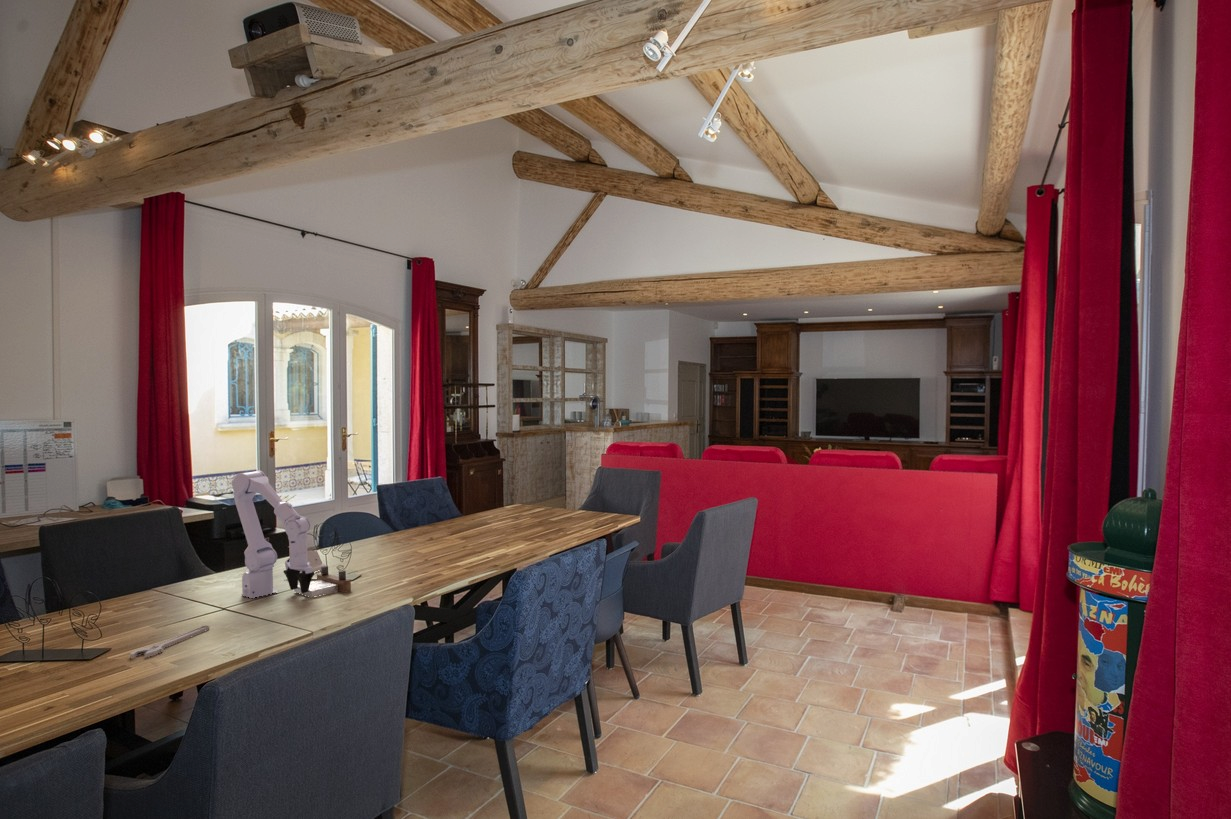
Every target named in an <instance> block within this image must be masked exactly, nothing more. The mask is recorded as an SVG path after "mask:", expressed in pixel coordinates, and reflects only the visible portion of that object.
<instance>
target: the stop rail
mask: <svg viewBox="0 0 1231 819" xmlns="http://www.w3.org/2000/svg"><path fill="white" fill-rule="evenodd" d="M320 572H321V573H316V581H318V580H323V581H326V582H330V583H333V584H337V585H338V592H339V591H341V592H340V593H342V592H344V593H347V592H346V591H348V592H351V591H352V584H351V583H352V582H351V581H352V580H351V579H349V578H347V575H346V574H347V570H338V575H335V574H334V575H333V574H330V573H329V565H325V566H322V567H321V571H320Z"/></svg>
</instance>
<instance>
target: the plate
mask: <svg viewBox="0 0 1231 819" xmlns="http://www.w3.org/2000/svg"><path fill="white" fill-rule="evenodd" d="M293 590H294V592H296V593H300V594H303V595H306V596H309V597H314V596H319V595H323V594H327V595H330V594H329V593H331V594H334V593H333V592H335V593H338V592H339V591H338V585H337V584H333V583H330V582H326V581H323V580H318V581H317V580H313V581H311V582H310V586H309V590H308V592H306V593H301V589H300V584H298V587H297V589H293ZM337 591H338V592H337ZM296 593H295V594H296ZM300 594H299V595H300ZM303 595H302V596H303ZM306 596H305V597H306ZM323 596H324V595H323ZM309 597H308V598H309ZM319 597H320V596H319Z"/></svg>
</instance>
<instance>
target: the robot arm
mask: <svg viewBox="0 0 1231 819" xmlns="http://www.w3.org/2000/svg"><path fill="white" fill-rule="evenodd" d="M269 481H270V480H269V477H268V476H267V475H266V474H265V473H264V471H262V470H255V471H250V472H249V471H248V472H239V473H236V475H235V476H234V477H233V480H232V481H231V486H232V489H233V499H234V503H235V506H236V509H237V513H238V516H239V520H240V523H241V525H242V526H241V527H242V529H243V533H244V535H245V540H246V542H247V545H248V546H247V547H246V549H245V550H244V552H243V554H244V565H245V567H246V569H247V570H248V571H247V572H244V573H243V574H242V575H241V576H242V578H241V584H242V586H241V588H242V590H241V591H242V593H241V596H242V595H243V597H245V596H246V598H248V597H249V598H248V599H251V598H253V599H256V598H255V597H257V598H260V597H259V596H262V597H264V596H263V595H266V596H269V595H268V594H270V595H273V594H272V593H275V594H277V593H276V592H278V593H279V590H274V575H273V574H274V572H273V569H274V566H275V565H274V564H276V563H277V560H278V553H277V551H276V550H275V549H274V548H273V545H272V543H270V542H269V541H268V540H266V539H265V536H264V533H263V529H262V527H261V523H260V519H259V517H258V513H257V510H256V507H255V504H254V501H253V498H254V497H255V495H256V494H259V495H260V496H261V497H262V498H264V500H266V501H267V502H268V503H269V504H270V505H271V506H272V507H273V508H274V509H273V514H274V515H275V516H276V517H277V518H278V519H279V521H280V522H281V523H282V524H283V526H285V527H284V531H285V534H286V535H287V539H288V543H289V544H288V545H289V546H288V548H289V558H290V562H287V563H286V566H285V570H283V573H284V575H285V577H286V579H287V581H288V584H289V588H290V590H291V591H293V590H294V589H297V587H298V585H300V589H301V593H306V592H308V590H309V586H310V582H312V579H313V577H314V575H315V574H314V572H312V567H310V566H309V565H311V563H309V562H307V551H308V532H309V531H310V530H311V522H310V520H309V519H308V518H307V517H305V516H302V515H300V514H299V513H298V512H297V511H296V510H295V509H294V507H293V505H292V504H291V503H289V502H288V501H287V502H286V501H283V500H282V498H281V497H280V496H279V495H278V493H277V492H276V491H275V489H274V488H273V486H272V485H271V483H269ZM286 568H288V569H287V570H286ZM300 571H302V573H300Z"/></svg>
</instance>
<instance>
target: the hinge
mask: <svg viewBox="0 0 1231 819" xmlns="http://www.w3.org/2000/svg"><path fill="white" fill-rule="evenodd" d="M287 562H290V557H289V558H287V559H286V560H285V561H284V565H285V570H287V569H288V568H286V563H287ZM307 562H309V563H311V565H309V566H310V567H312V572H315V571H318V570H321V567H322V566H326V564H325V563H323V561H322V558H321V557H320V554H319V552H318V551H317V550H311V549H309V550H307ZM300 573H302V571H300Z"/></svg>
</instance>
